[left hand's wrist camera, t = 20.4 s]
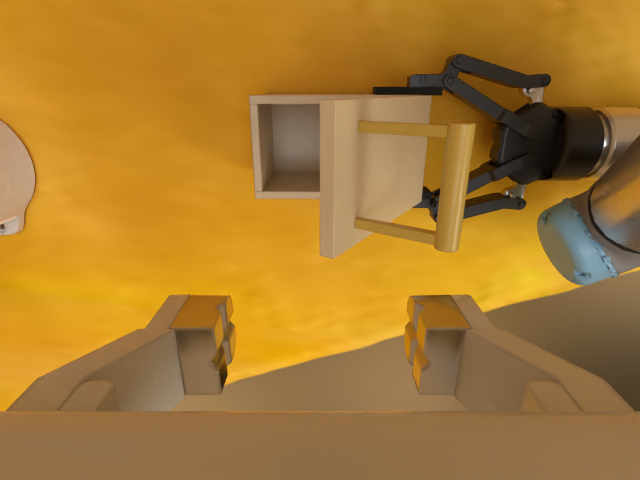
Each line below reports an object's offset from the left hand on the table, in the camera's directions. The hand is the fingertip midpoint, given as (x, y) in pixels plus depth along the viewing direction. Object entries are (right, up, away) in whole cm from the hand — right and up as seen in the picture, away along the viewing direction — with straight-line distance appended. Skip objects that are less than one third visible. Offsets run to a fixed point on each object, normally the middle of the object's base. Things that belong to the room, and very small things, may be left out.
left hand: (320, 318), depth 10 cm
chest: (+2, +15, +38) cm, 41 cm away
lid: (+5, +8, +21) cm, 23 cm away
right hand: (+6, +12, +31) cm, 34 cm away
